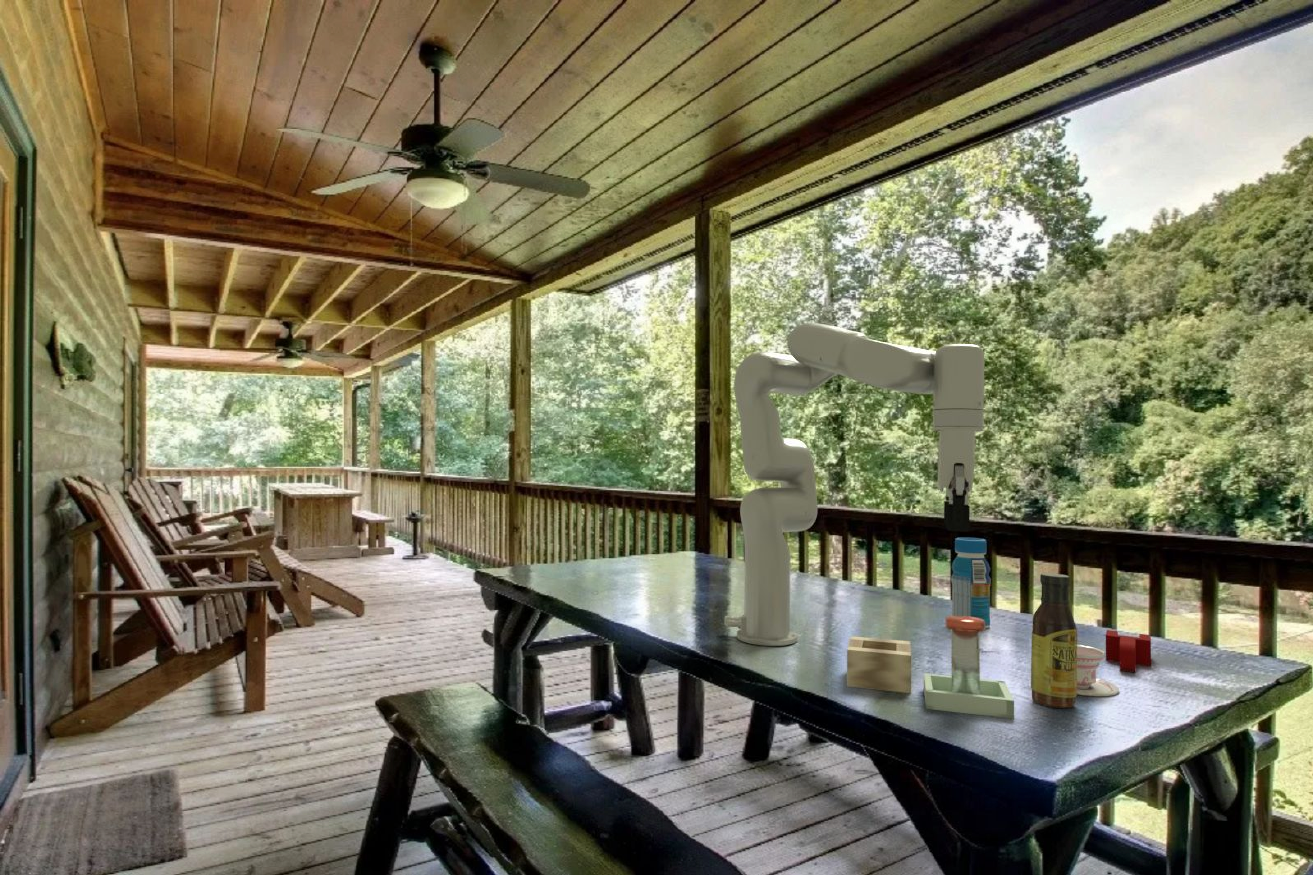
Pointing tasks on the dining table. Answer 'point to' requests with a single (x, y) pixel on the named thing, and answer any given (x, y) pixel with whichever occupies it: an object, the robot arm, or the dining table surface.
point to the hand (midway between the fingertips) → (955, 528)
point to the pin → (965, 653)
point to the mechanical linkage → (1128, 650)
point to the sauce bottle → (1054, 646)
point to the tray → (968, 697)
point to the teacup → (1091, 673)
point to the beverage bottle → (971, 580)
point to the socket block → (879, 664)
